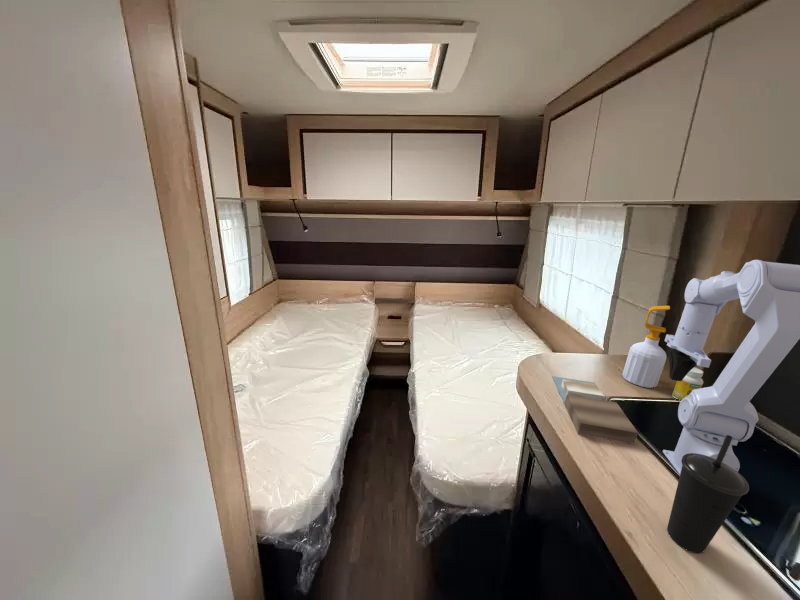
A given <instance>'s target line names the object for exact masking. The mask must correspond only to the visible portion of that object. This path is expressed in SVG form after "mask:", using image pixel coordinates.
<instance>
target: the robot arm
mask: <svg viewBox="0 0 800 600" xmlns="http://www.w3.org/2000/svg"><path fill="white" fill-rule="evenodd" d="M744 263H745V264H744V265H743V267H742V268H741V270H740V271H739V272H737V273H735V272H734V271H727V270H724V271H721V272H720V274H717V275H715V276H710V277H709V278H706V279H699V278H696V277H694V278H692V279H691V280H689V282H688V283H687V285H686V287H685V291H684V294H683V295H684V301H685V304H684V309H683V311H682V313H681V318H680V321H679V323H678V325H677V329H676V331H675V335H674V334H668V333H667V334H666V335H665V338H664V342H665V343H667V344H666V346H668V347H669V348H668V349H666V355H667V356H668V362H669V363H668V364H669V379H670V380H672V381H676V382H677V381H682V380H683V378H684V377H685V376H686V375H687V374H688V372H689V371H690V370H691V369H693V368H694V367H695V368H696V366H698V367H701V368H708V369H709V368H710V365H711V363H712V359H711V358H710V357H708V355H707V354H706V352H705V351H704V347H705V345H706V341H707V340H708V336H709V333H710V331H711V328H712V325H713V323H714V320H715V318H716V316H719V314H720V312H721V311H722V309H723V307H725V305H726V304H727V302H729V301H735V300H737V299H739V300H740V301H739V302H740V306H741V308H742V314H743V315H745V316H747V317H748V318H750V319H752V320H753V321H754V325H752V327H751V329H750V331H748V333H747V335H746V336H745V337H744V339H743V341H742V342H741V343H740V345H739V346H738V348H737V349H736V351H735V353H734V354H733V355H732V357H731V358H730V359H729V361H728V362H727V364H726V365H725V367H724V368H723V370H722V371H721V373H720V374H719V375H718V377H717V379H715V382H713V384H712V385H711V386H707V387H706V386H705V387H702V388H699V389H694V390H692V392H691V393H690V394H689V395H688V396H686V397H685V398H684V399H682V400H681V402H679V405H678V407H677V408H678V409H677V418H678V420H679V422H680V424H681V425H682V426H683V428H682V431H681V433H680V437H679V438H678V441H677V444H676V446H675V449H674V451H673V450H669V449H668V450H667V449H663V450H662V453H663V454H664V456H665V457H666V459H668V461H669V462H670V465H672V466H673V468H674V469H675V470H676V472H677V473H678V475H680V473H681V469H682V457H683V456H684V455H685V454H688V453H696V454H702V455H705V456H709V457H711V458H714V459H716V458H717V456H718V454H719V451H720V449H721V447H722V445H723V442H724V440H725V438H726V435H729V436H731V437H732V441H731V443H730V445H729V448H728V450H727V452H726V454H725V457H724V459H723V461H722V462H723V463H724V464H726V465H728V466H730V467H731V468H733V469H734V470H736V471H737V472H738V473H739V470H740V468H741V463H740V460H739V459H738V457H737V456H736V455H735V453H734V450H733V446H738V444H739V442H746V441H747V440H748V439H750V438H751V437H752V436H753V433H754V432H755V431H754V430H755V426H756V425H757V423H758V422H759V416H758V411H757V410H756V408H755V405H753V404H752V403H751V400H752V399H753V397H754V396H755V395H756V394H757V393H758V392H759V390H760V389H761V387H762V386H764V384H765V383H766V381H767V380H768V379H769V378H770V376H772V375H773V373H774V371H775V370H776V369H777V368H778V366H779V365H780V364H781V363H782V361H783V360H784V359H785V358H786V356H787V355H788V354H789V353H790V352H791V350H792V349H793V348H794V346H795V345H796V343H798V341H799V340H800V264H792V263H783V262H782V263H781V262H771V261H763V260H760V259H753V260H750V261H747V262H744Z"/></svg>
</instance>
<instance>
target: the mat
mask: <svg viewBox="0 0 800 600" xmlns="http://www.w3.org/2000/svg"><path fill="white" fill-rule="evenodd" d="M551 378H552V380H553V382H554V384H555V386H556V389H557V391H558V393H559V395H560V398H561V400H562V403H564V404H565V400H566V394H565V392H564V390H563V388H562V386H561V384H562V380H563V379H564V380H571V381H577V382H584V383H591V384H596V383H595V382H593V381H587V380H580V379H579V380H578V379H575V378H566V377H560V376H554V375H552V377H551ZM603 400H605V401H608V400H607V399H606V397H604V398H603Z"/></svg>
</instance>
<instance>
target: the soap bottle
mask: <svg viewBox="0 0 800 600" xmlns="http://www.w3.org/2000/svg"><path fill="white" fill-rule="evenodd" d="M670 309H671V306H670V305H654V306H653V305H652V306H651V307H649V309H648V313H647V315H646V319H645V322H644V327H645V328H646V329H648V331H649V332H650V333H649V334H646V335H645V338H644V341H641V342H637V343H633V344H632V345H631V346H630V348H629V351H628V353H627V358H626V362H625V364H624V368H623V371H622V377H623V379H625V380H626V381H627V382H629V383H631V384H632V383H633V385H635V386H637V385H638V386H637V387H640V388H645V389H646V388H647V389H648V388H649V389H653V387H654V388H656V387H657V386H658V384H659V381H660V379H661V376H662V373H663V370H664V367H665V364H666V362H667V361H666V360H667V356H668V355H667V352H666V351H665V350H664V349H663V348H662V347H661V346H659V342H660V339H661V338H660V337H659V336H658V334H661V333H666V332H667V331H666V330H667V329H666V327H663V326H658V325H654V324H650V323H648V321H649V318H650V315H651V313H652V312H655V311H669V310H670Z"/></svg>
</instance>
